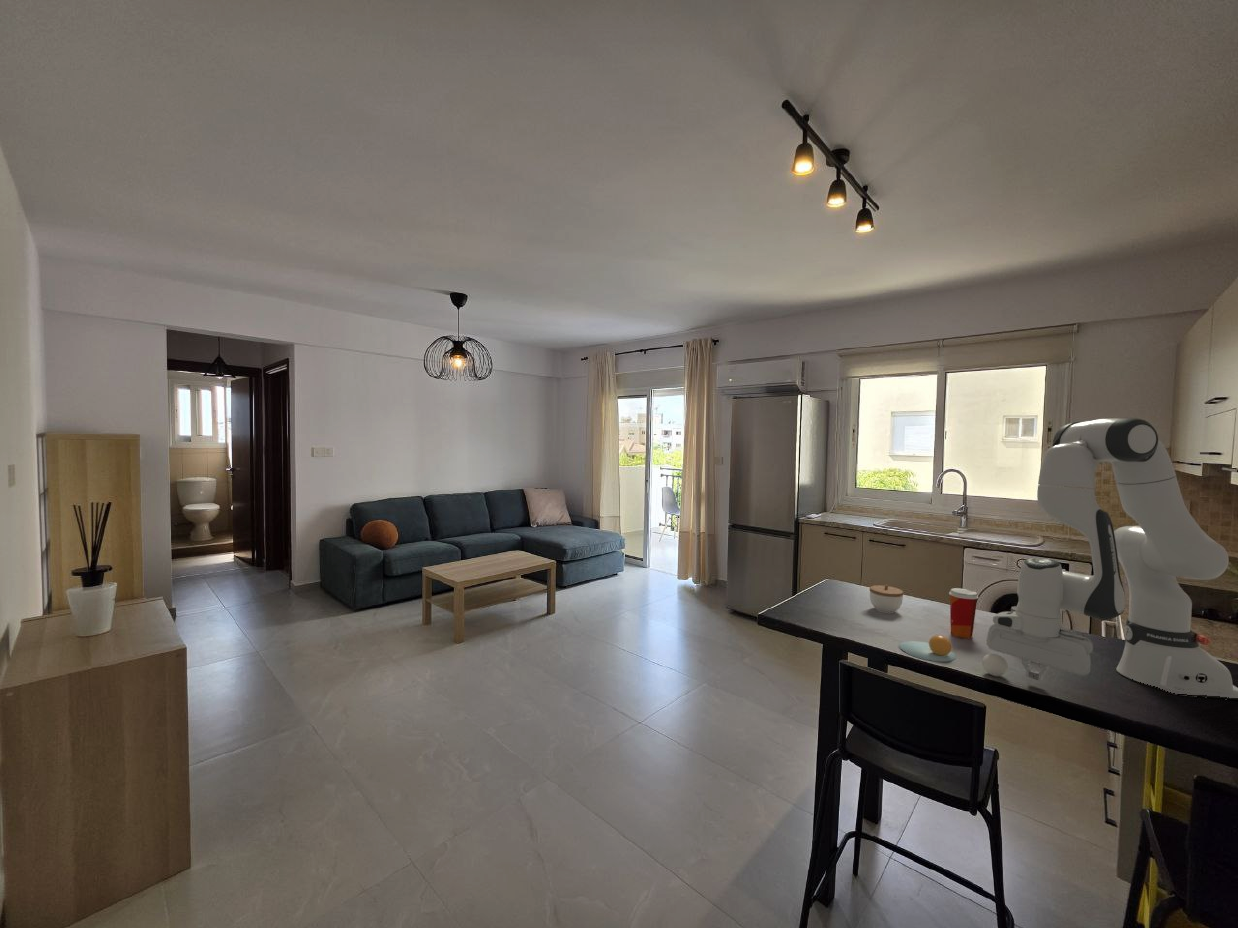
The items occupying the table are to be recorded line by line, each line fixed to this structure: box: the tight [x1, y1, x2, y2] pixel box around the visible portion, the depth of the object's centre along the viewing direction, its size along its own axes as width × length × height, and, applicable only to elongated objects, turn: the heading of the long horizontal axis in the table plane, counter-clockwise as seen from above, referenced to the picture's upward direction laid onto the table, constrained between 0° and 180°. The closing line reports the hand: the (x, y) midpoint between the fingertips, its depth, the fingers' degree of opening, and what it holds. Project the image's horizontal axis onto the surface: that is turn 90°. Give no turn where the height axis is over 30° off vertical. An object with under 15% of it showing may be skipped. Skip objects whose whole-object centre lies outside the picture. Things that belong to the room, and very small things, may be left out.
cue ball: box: [981, 653, 1009, 677], centre depth 135 cm, size 6×6×6 cm
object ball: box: [928, 634, 952, 656], centre depth 147 cm, size 6×6×6 cm
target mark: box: [898, 640, 956, 663], centre depth 149 cm, size 14×14×1 cm
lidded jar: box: [869, 584, 904, 614], centre depth 185 cm, size 11×11×9 cm
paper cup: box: [948, 587, 979, 639], centre depth 162 cm, size 8×8×14 cm
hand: (1034, 678), depth 130 cm, fingers closed
